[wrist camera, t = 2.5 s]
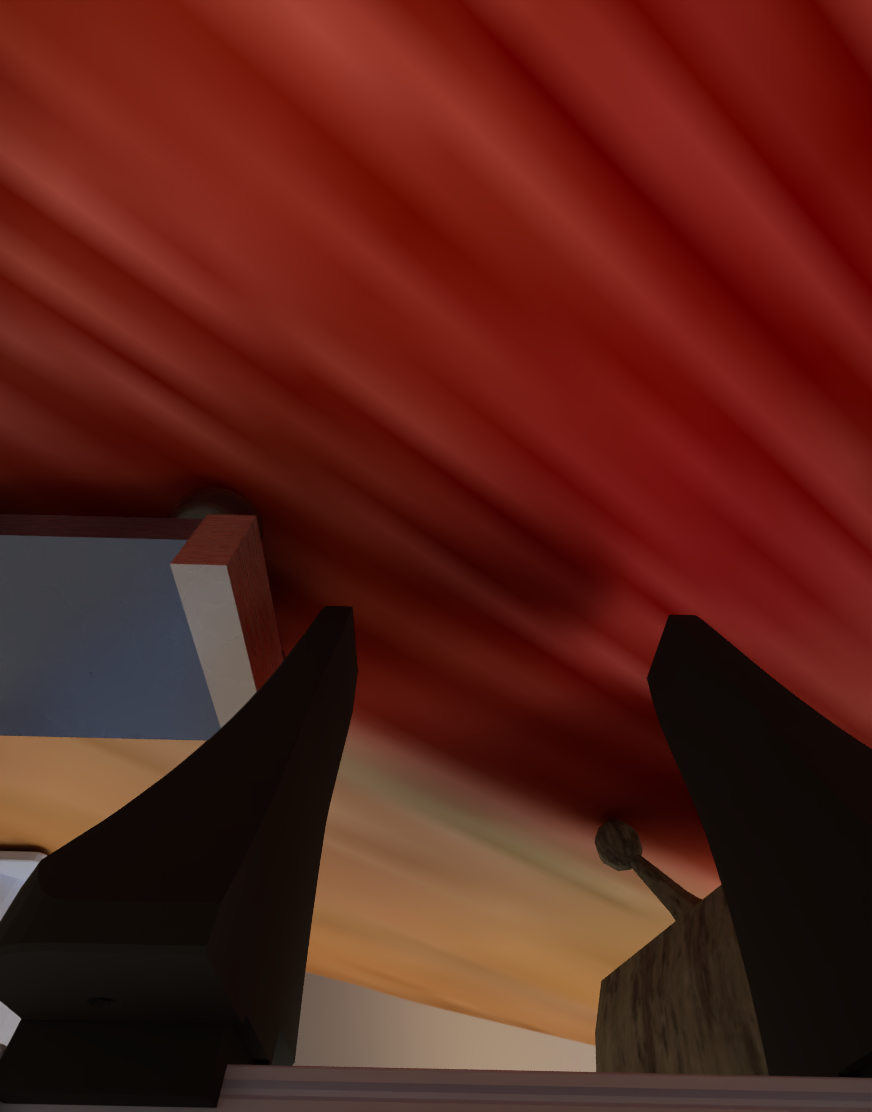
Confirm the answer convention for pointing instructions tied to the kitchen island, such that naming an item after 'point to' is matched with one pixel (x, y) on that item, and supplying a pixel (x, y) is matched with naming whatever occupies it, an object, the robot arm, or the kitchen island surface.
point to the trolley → (134, 621)
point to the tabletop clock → (676, 984)
